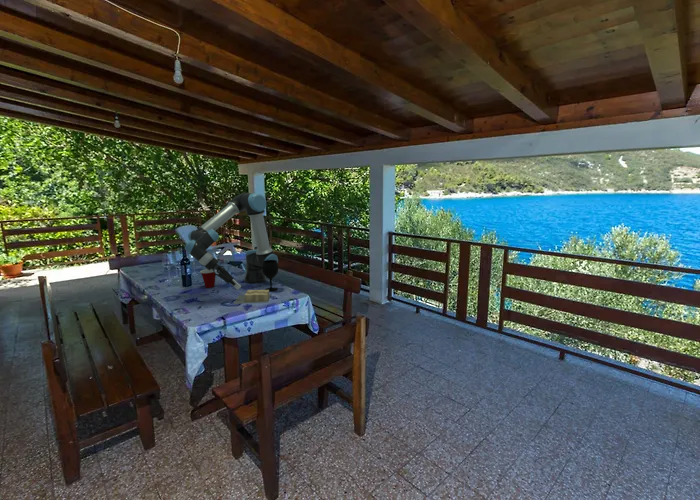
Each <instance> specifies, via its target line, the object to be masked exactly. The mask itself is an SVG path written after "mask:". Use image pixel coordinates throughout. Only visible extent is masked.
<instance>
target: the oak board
mask: <svg viewBox="0 0 700 500" xmlns="http://www.w3.org/2000/svg"><path fill="white" fill-rule="evenodd" d="M269 294H270V292H269V290H265V289H248V290H246V292H245V294H244V295H245V302H250V301H267V300H268V298H269Z"/></svg>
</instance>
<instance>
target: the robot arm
mask: <svg viewBox="0 0 700 500" xmlns="http://www.w3.org/2000/svg"><path fill="white" fill-rule="evenodd" d="M266 207H267V200H266V198H265V196H264V195H262V194H261V193H256V192H242V193H241V194H238V195H237V196H235V197H233V199H231V200H230V201H229V202H228V203H227V205H226V206H224V207H223V208H222V209H221V210H219V212H217V213H216V214H215V215H213V216H212V217H211V218H209V219H208V220H207V221H206V222H204V224H202V225H200V227H198V228H197V229H196V230H195V229H194V230H190V231H189V233H188V235H187V237H188V240H189V242H188V243H187V244H186V245H185V246H184V250H185V251H186V253H188V254H189V255H190V256H192V257H193V258H194V259H195V260H196V261H197V262H198V263H199V264H200V265H202V266H204V268H205V269H208V270H211V269H212V270H213V271H214V272H215V273H214V274H215V275H216V276H217V277H219V278H220V279H221V280H223V281H224V282H225V283H227V284H230V285H231V286H232V287H234V288H235V289H236V290H237V291H238V290H239V289H240V288H241V287H242V286H241V284H240V283H238V282H237V281H236V280H235V279H234V276H232V275H231V274H230V273H229V272H228V270H226V269H225V267H224V266H223V265H219V264H218V263H219V260H218V259H216V258H215V257H214V256H213V255H212V254H211V253H210V252H209V251H207V250H208V248H210V247H211V246H212V245H214V243H216V241H218V239H219V238H220V236H219V233H218V232H217V230H218V229H219V228H221V227H222V226H223V225H224V224H226V222H227V221H229V220H231V218H233V217H234V216H235V215H238V214H240V213H241V212H244V211H245V212H246V215H247V216H248V217H249V218H250V223H251V227H252V231H253V232H252V233H253V236H254V240H255V245H256V248H255V249H249V250H247V251H245V263H246V273H245V275H244V282H245V283H247V284H259V283H260V284H261V283H263V282H266V281H267V277H266V276H265V275H264V274H263V271H262V265H263V261H265V260H276V261H277V263H278V264H279V259H278V255H276V254H274V251H273V250H274V249H273V248H271V246H270V241H269V236H268V232H267V228H266V227H267V226H266V223H265V218H264V213H265V209H266Z"/></svg>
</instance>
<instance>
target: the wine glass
mask: <svg viewBox="0 0 700 500" xmlns="http://www.w3.org/2000/svg"><path fill="white" fill-rule="evenodd" d="M262 271H263V274H264V275H265V276H266V279H267V278H268V279H269V287H267V288H265V289H264V290H269V293H270V292H276V291H278V292H279V291H280V289H279V288H278V287H273V285H272V284H273V283H272V282H273V279H274V278H275V277H276V276H277V275H278V273H279V262H278V263H277V261H276V260H265V261H263V265H262Z"/></svg>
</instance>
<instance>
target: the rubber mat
mask: <svg viewBox="0 0 700 500" xmlns="http://www.w3.org/2000/svg"><path fill="white" fill-rule="evenodd" d="M271 296H272V293H269V298H268V300H267V301H250V302H245V294H239V295H238V296H237V298H236V299H235V301H234V303H233V304H236V305H238V304H262V303H263V304H265V303H267V304H268V303H269V302H270V300H271V299H270V298H271Z"/></svg>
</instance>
